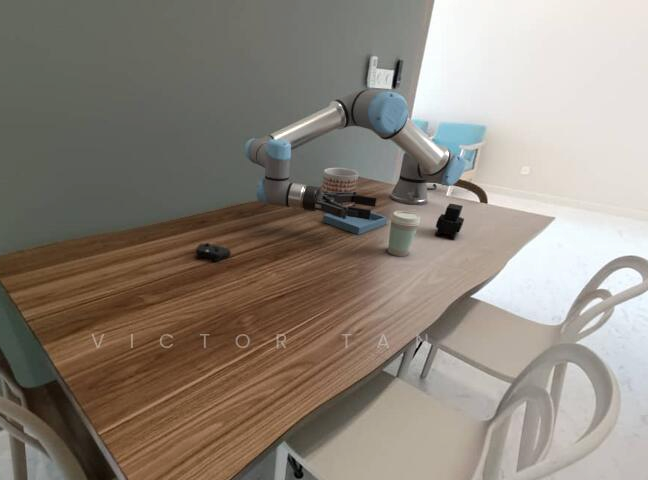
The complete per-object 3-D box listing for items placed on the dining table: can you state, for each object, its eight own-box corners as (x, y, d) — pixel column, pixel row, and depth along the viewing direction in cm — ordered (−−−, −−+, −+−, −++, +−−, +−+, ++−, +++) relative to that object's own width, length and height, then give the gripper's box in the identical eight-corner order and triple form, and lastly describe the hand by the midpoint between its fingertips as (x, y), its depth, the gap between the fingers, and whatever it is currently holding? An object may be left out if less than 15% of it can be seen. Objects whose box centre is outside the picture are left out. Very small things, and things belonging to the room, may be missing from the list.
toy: (462, 229, 143) (470, 202, 138) (455, 241, 132) (464, 212, 127) (440, 224, 146) (448, 198, 141) (432, 235, 135) (440, 207, 130)
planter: (320, 197, 169) (324, 166, 162) (352, 200, 168) (357, 169, 161) (319, 206, 157) (323, 174, 151) (354, 209, 156) (359, 177, 149)
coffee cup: (413, 250, 123) (423, 213, 117) (409, 260, 116) (419, 221, 110) (386, 244, 126) (394, 208, 120) (380, 254, 119) (389, 216, 113)
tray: (351, 212, 152) (352, 206, 151) (386, 224, 143) (387, 217, 142) (322, 221, 142) (323, 214, 140) (358, 234, 132) (359, 227, 131)
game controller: (232, 251, 113) (226, 242, 107) (227, 268, 111) (220, 260, 106) (202, 245, 115) (194, 236, 109) (196, 262, 114) (188, 254, 108)
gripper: (313, 199, 135) (375, 209, 130) (292, 220, 115) (364, 233, 109) (316, 177, 131) (380, 186, 126) (294, 195, 111) (369, 207, 105)
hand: (373, 208), depth 117 cm, fingers open, 13 cm apart
